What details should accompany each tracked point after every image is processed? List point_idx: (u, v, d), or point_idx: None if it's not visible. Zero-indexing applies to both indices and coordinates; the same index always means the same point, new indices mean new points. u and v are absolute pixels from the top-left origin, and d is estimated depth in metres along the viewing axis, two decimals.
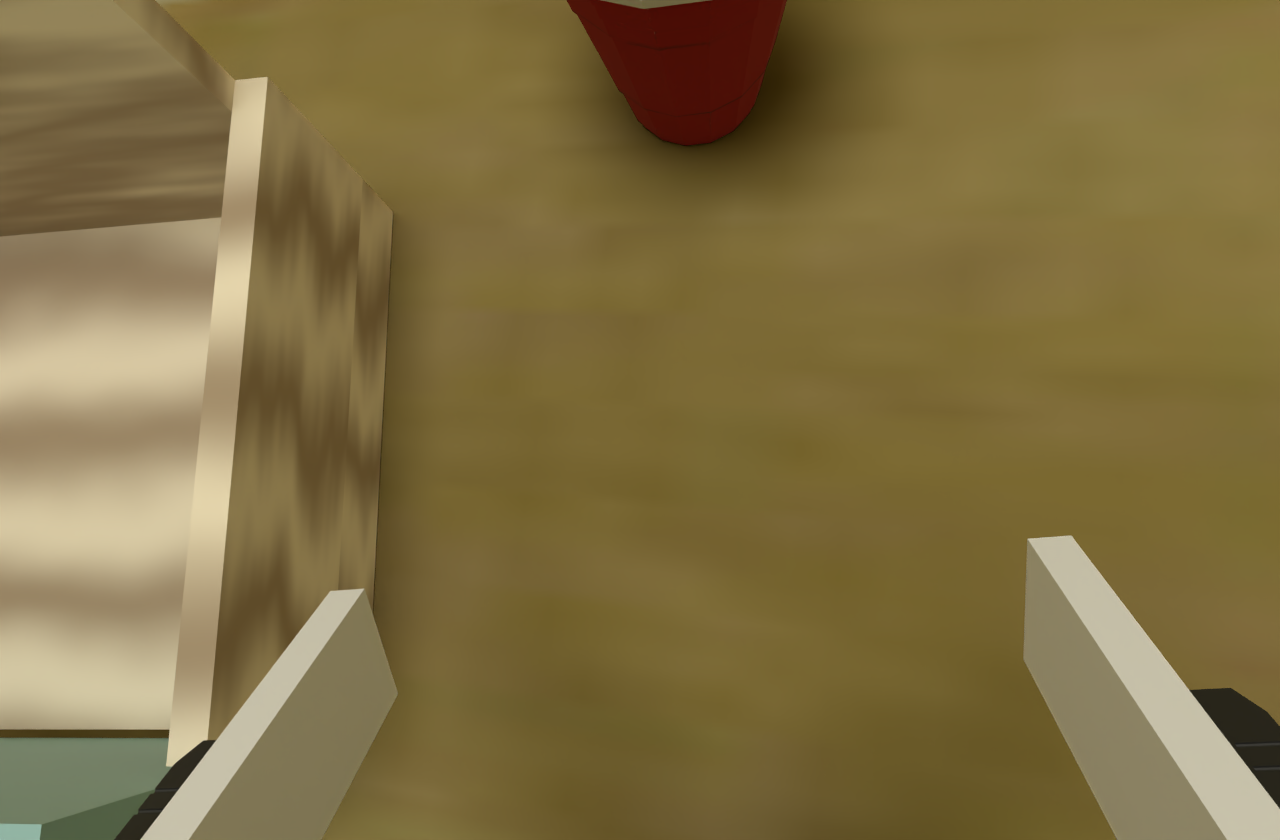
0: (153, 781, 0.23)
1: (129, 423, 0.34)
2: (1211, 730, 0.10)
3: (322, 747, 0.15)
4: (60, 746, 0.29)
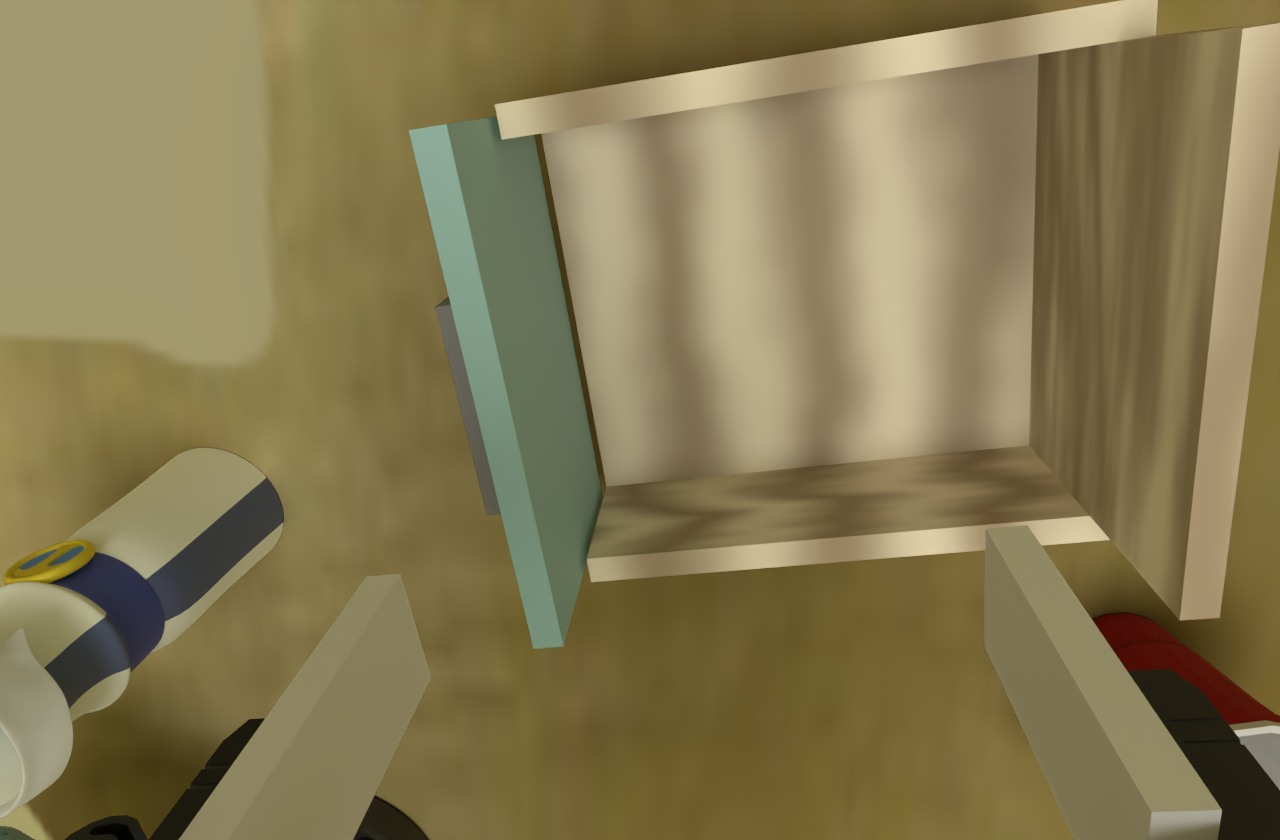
0: (578, 565, 0.36)
1: (829, 300, 0.38)
2: (1143, 706, 0.11)
3: (364, 726, 0.15)
4: (566, 353, 0.38)
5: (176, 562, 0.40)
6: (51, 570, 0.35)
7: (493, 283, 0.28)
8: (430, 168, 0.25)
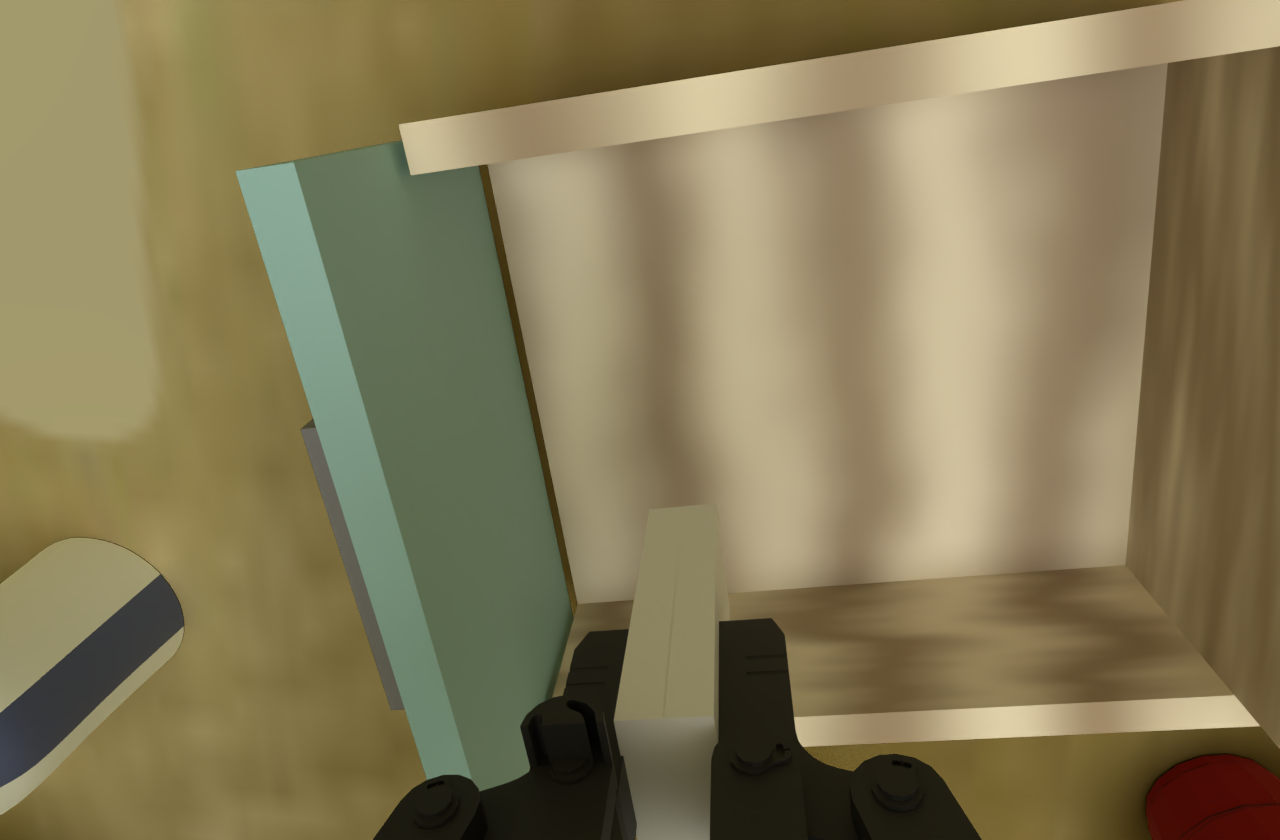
0: None
1: (869, 380, 0.29)
2: (707, 643, 0.13)
3: None
4: (521, 446, 0.29)
5: (16, 708, 0.31)
6: None
7: (386, 395, 0.18)
8: (273, 230, 0.16)
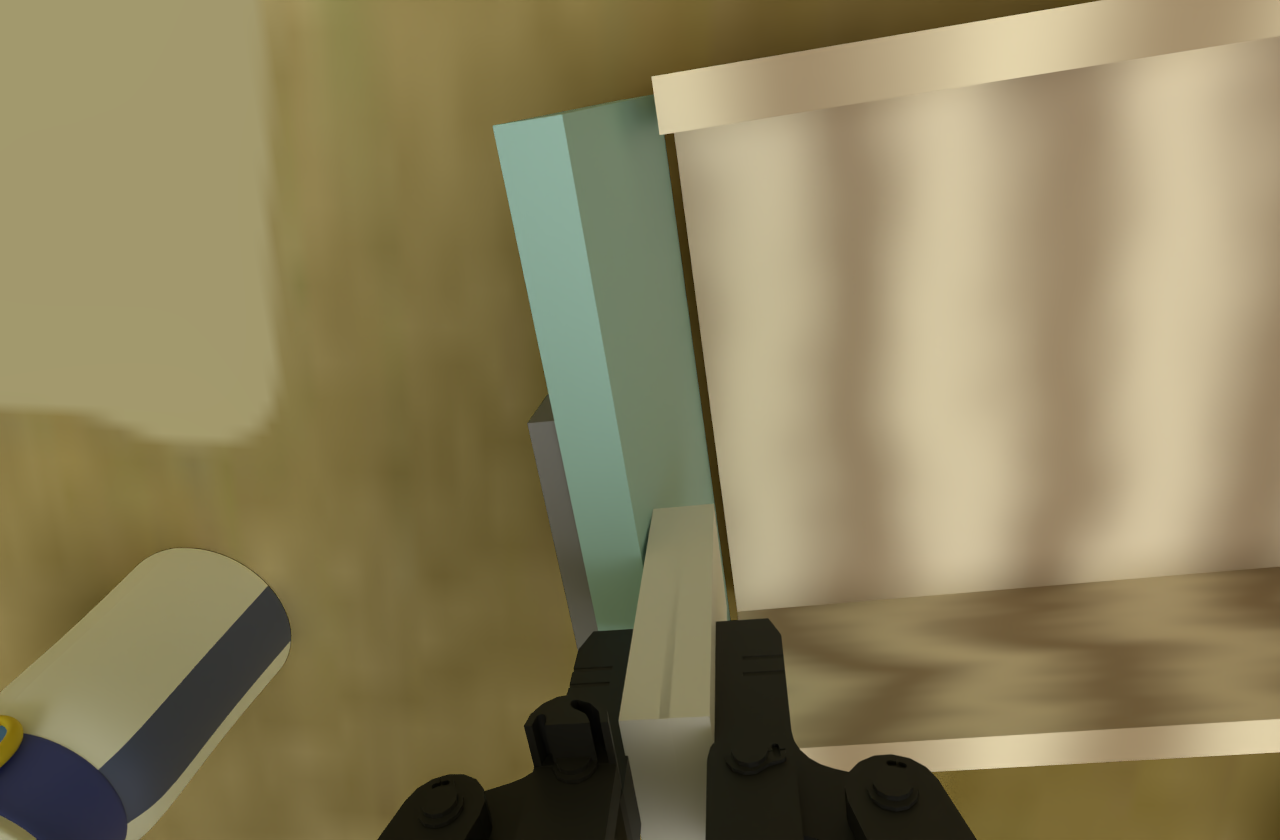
0: None
1: (1079, 365, 0.26)
2: (704, 643, 0.13)
3: None
4: (698, 442, 0.26)
5: (143, 735, 0.28)
6: None
7: (624, 385, 0.16)
8: (529, 195, 0.14)
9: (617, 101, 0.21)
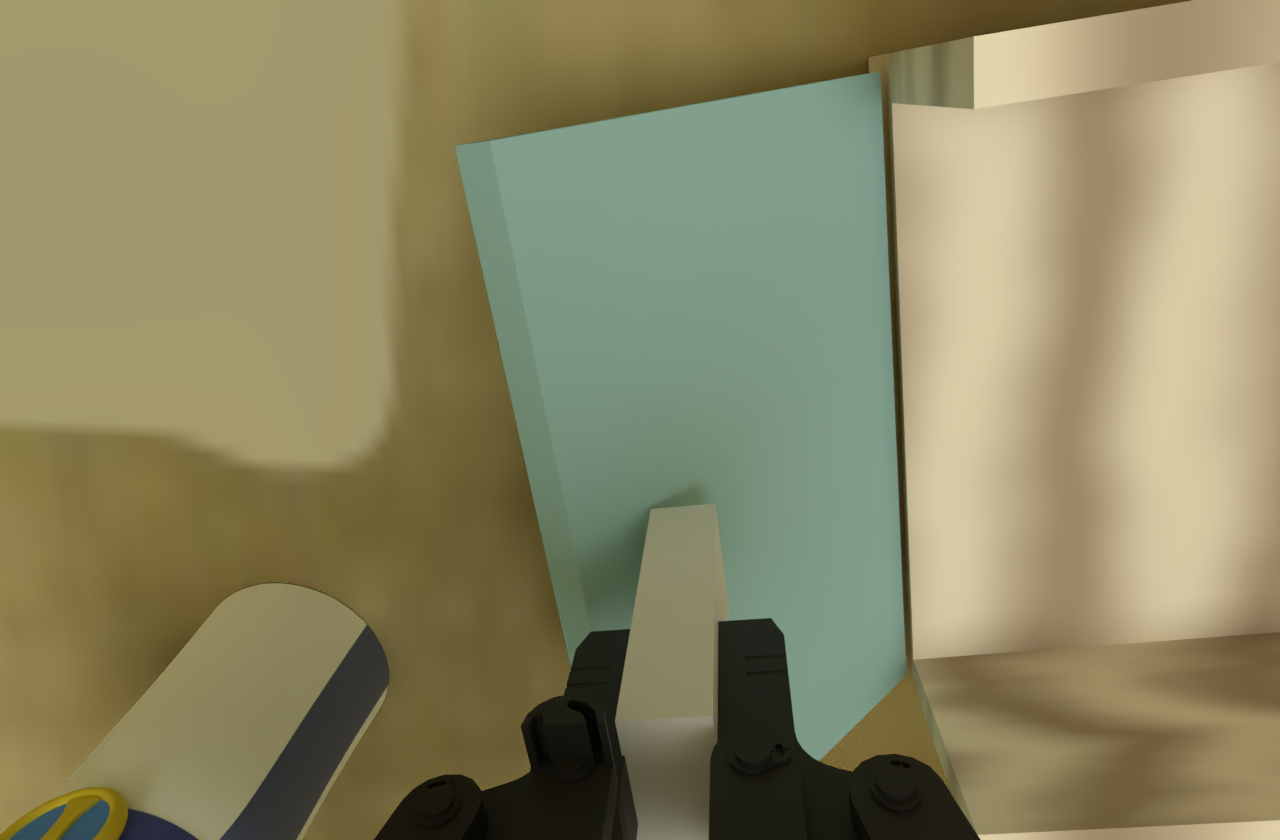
0: None
1: None
2: (707, 643, 0.13)
3: None
4: (859, 466, 0.24)
5: (255, 806, 0.25)
6: None
7: (593, 398, 0.17)
8: (479, 210, 0.15)
9: (766, 91, 0.19)
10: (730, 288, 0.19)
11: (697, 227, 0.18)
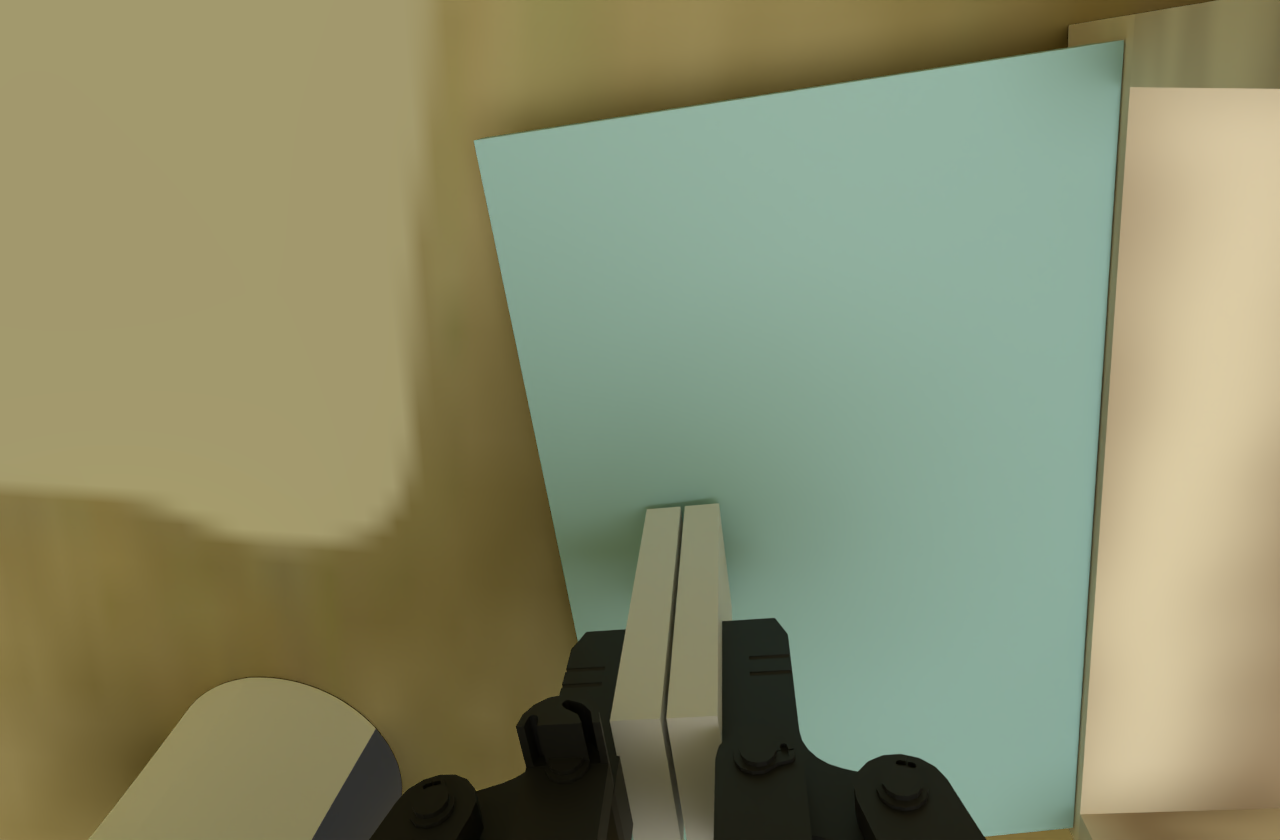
0: None
1: None
2: (711, 642, 0.13)
3: None
4: (1005, 553, 0.19)
5: None
6: None
7: (581, 388, 0.17)
8: None
9: (896, 74, 0.16)
10: (783, 306, 0.17)
11: (736, 235, 0.16)
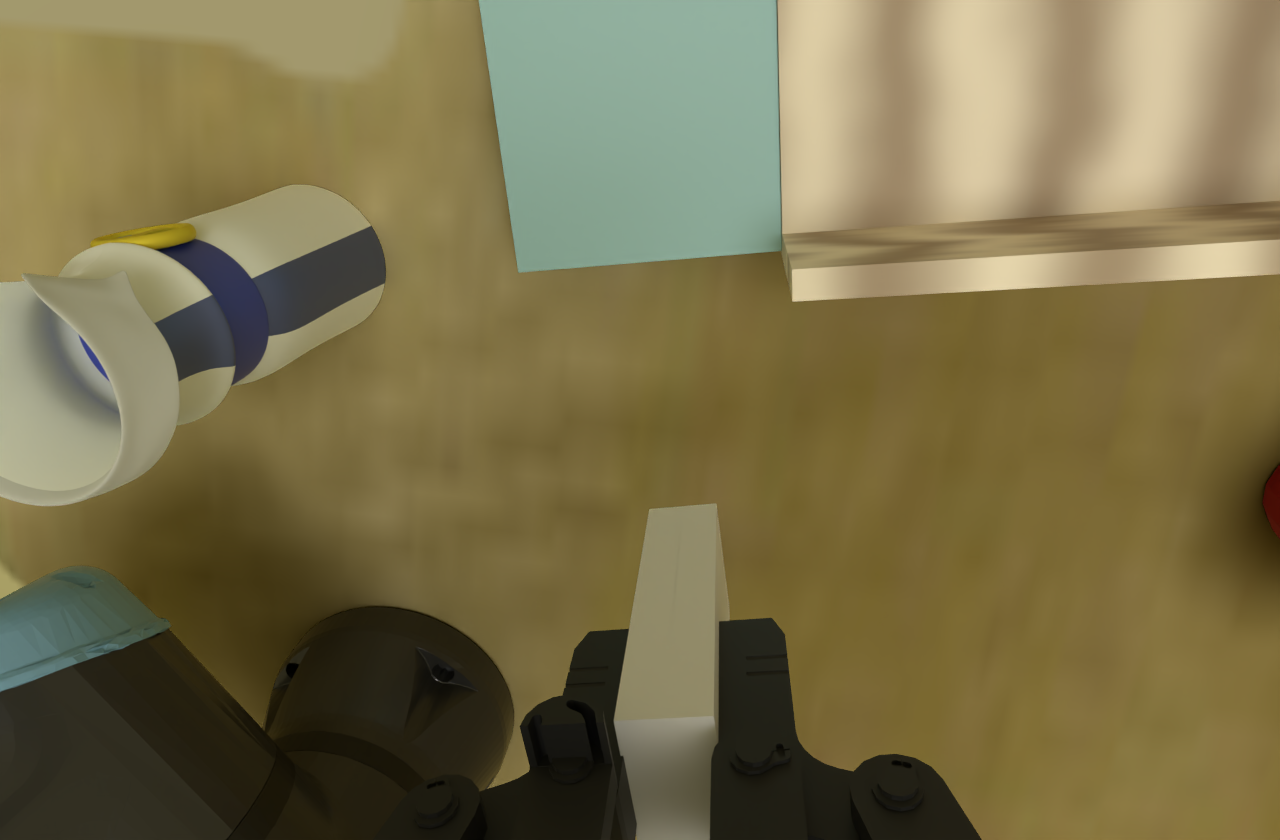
0: (615, 247, 0.37)
1: None
2: (707, 643, 0.13)
3: None
4: (730, 42, 0.34)
5: (284, 271, 0.34)
6: (150, 235, 0.29)
7: None
8: None
9: None
10: None
11: None
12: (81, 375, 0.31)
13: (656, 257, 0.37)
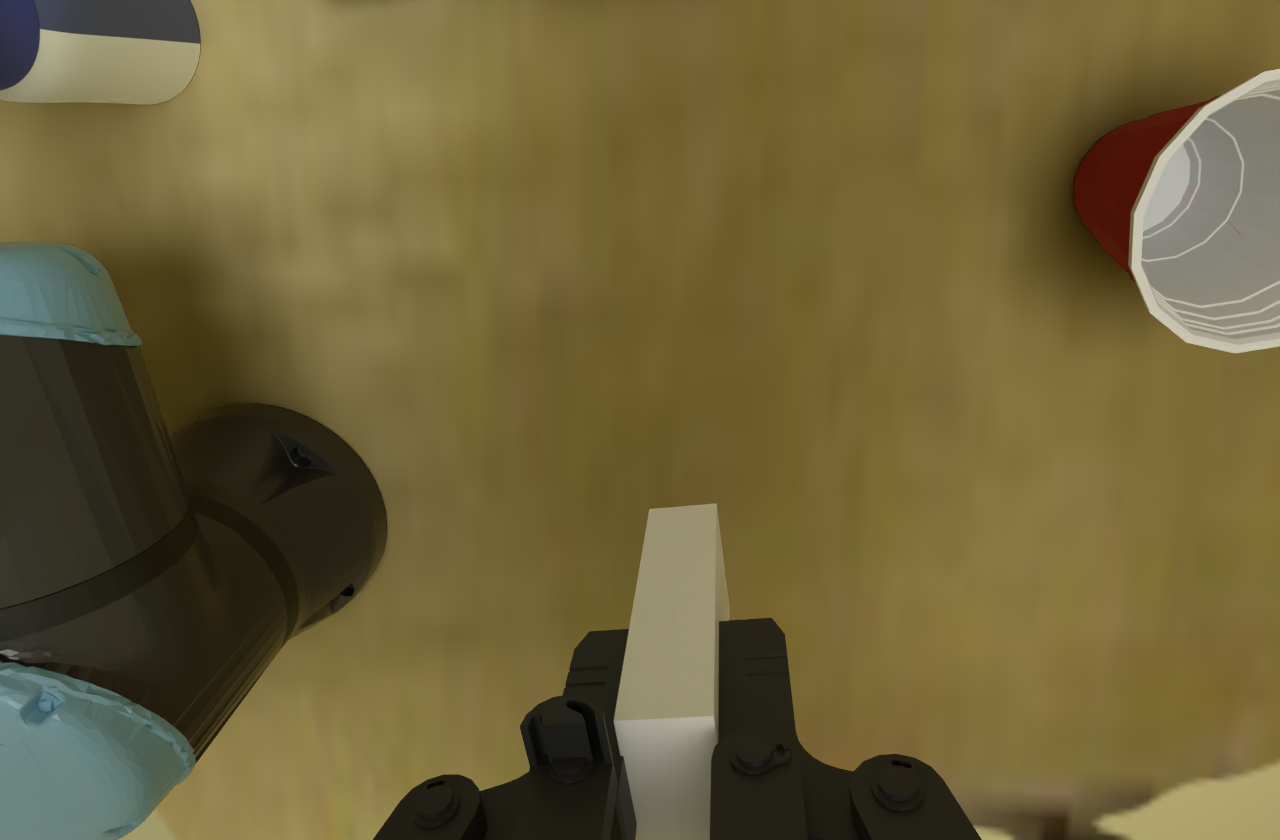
0: None
1: None
2: (707, 643, 0.13)
3: None
4: None
5: None
6: None
7: None
8: None
9: None
10: None
11: None
12: None
13: None
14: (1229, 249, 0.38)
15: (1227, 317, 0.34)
